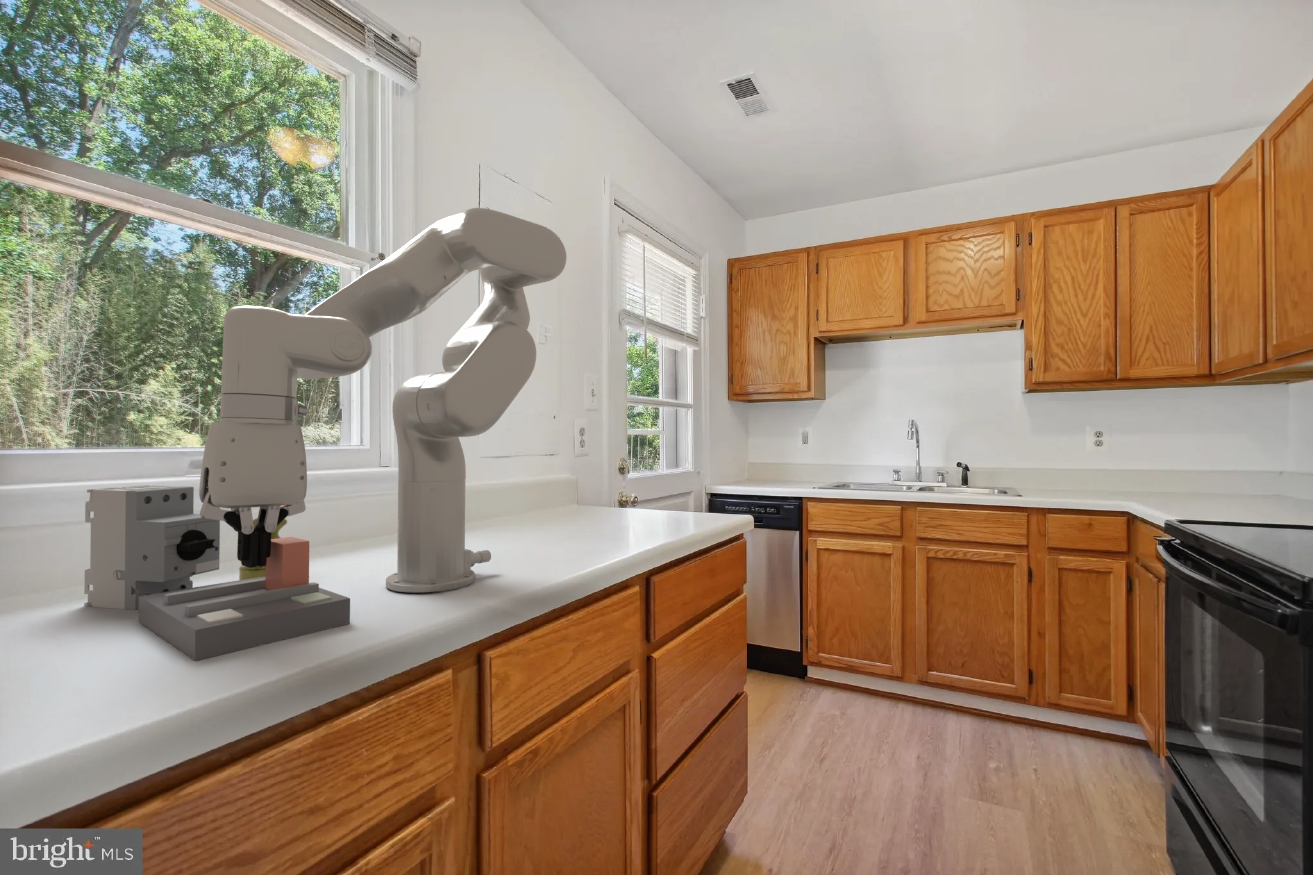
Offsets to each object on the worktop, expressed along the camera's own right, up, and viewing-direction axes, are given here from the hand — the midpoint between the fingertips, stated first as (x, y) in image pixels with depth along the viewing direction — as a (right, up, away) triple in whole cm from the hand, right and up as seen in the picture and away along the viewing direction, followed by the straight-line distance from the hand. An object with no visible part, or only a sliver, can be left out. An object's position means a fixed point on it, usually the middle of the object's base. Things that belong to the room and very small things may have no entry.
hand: (253, 565), depth 71 cm
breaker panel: (-1, -7, -1) cm, 7 cm away
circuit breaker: (-18, -7, +8) cm, 21 cm away
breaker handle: (+2, -4, +3) cm, 5 cm away
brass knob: (-12, -7, +21) cm, 25 cm away
